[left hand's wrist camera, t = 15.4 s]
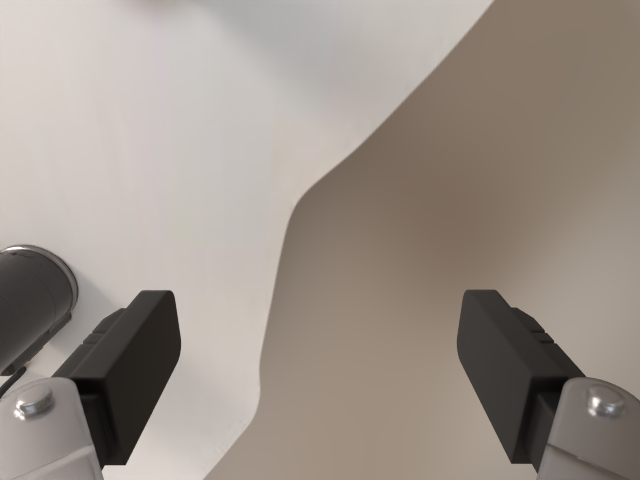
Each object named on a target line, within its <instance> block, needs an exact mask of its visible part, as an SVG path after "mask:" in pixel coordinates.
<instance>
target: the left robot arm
mask: <svg viewBox="0 0 640 480" xmlns="http://www.w3.org/2000/svg"><path fill="white" fill-rule="evenodd" d="M77 295H78V291H77V284H76V281H75V279H74V276H73V275H72V273H71V271H70V270H69V268H68V267H67V266H66V265H65V264H64V263H63V262H62V261H61V260H60V259H59V258H57V257H56V256H55V255H53V254H51V253H50V252H48V251H46V250H43V249H41V248H38V247H34V246H28V245H17V246H11V247H8V248H6V249H4V250H2V251H0V376H10V375H13V374H14V375H13V376H12V377H11V378H9V379H8V380H7V381H6V382H5V383H4V384H3V385H2V386H1V387H0V398H1V397H2V395H3V394H4V393H5V392H6V391H7V390H8V389H9V388H10V387H11V386H12V385H13V384H14V383H15V382H16V381H17V380H18V379H19V378H20V377H21V376H22V375H23V374H24V373H25V371H26V367H25V366H23V365H24V364H25V363H26V362H27V361H30V360H31V359H32V358H33V357H34V356H35V355H36V354H37V353H38V352H39V351H40V350H41V349H42V348H43V346H44V345H45V344H46V343H47V342H48V341H49V340H50V339H51V338H52V337H53V336H54V335H55V334H56V333H57V332H59V331H60V330H61V329H62V328H63V327H64V326H65V325H66V324H67V323H68V322H69V321H70V320H71V316H70V311H71V310H72V309H73V307H74V306H75V304H76V301H77ZM92 332H93V333H92V334H90V335H89V336H88V337H87V338H86V339H85V340H84V341H83V344H81V345H80V346H79V347H78V348H77V349H76V350H75V351H74V352H73V353H72V354H71V356H70V357H69V358H68V359H67V360H66V361H65V362H64V363H63V364H62V366H61V367H60V368H59V369H58V370H57V371H56V372H55V373H54V374H53V375H52V377H51V378H45V379H40V380H37V381H34V382H31V383H28V384H26V385H24V386H22V387H19V388H18V389H16V390H14V391H12V392H11V393H9V394H8V395H7V396H5V397H4V398H3V399H2V400H1V401H0V480H104V479H103V475H102V472H101V471H102V469H103V467H104V466H105V465H126V463H127V461H128V459H129V457H130V455H131V453H132V451H133V449H134V447H135V445H136V443H137V441H138V439H139V437H140V435H141V434H142V432H143V430H144V428H145V426H146V424H147V422H148V420H149V418H150V416H151V414H152V412H153V410H154V408H155V406H156V404H157V402H158V400H159V398H160V396H161V394H162V392H163V390H164V388H165V386H166V384H167V382H168V380H169V378H170V376H171V374H172V372H173V370H174V368H175V366H176V364H177V362H178V360H179V356H180V351H181V336H180V330H179V323H178V316H177V310H176V303H175V297H174V294H173V292H172V291H170V290H143V291H141V292H140V293H139V294H138V295H137V296H136V298H135V299H134V300H133V301H132V302H131V303H130V305H129V306H128V307H127V308H121V309H119V310H118V311H116V312H114V313H113V314H111V315H109V316H108V317H106V318H104V319H103V320H102V321H101V323H100V324H99V325H98V326H97V327H96V328H95V329H94V330H93V331H92ZM457 351H458V356H459V359H460V362H461V364H462V366H463V368H464V370H465V372H466V374H467V376H468V378H469V380H470V382H471V384H472V386H473V388H474V390H475V392H476V394H477V396H478V398H479V400H480V402H481V404H482V406H483V408H484V410H485V412H486V414H487V416H488V418H489V420H490V422H491V424H492V426H493V428H494V430H495V432H496V434H497V436H498V438H499V440H500V442H501V444H502V446H503V448H504V450H505V452H506V454H507V456H508V458H509V460H510V462H511V463H512V464H532V465H533V467H534V468H535V470H536V472H537V474H538V475H537V479H536V480H640V401H639V400H638V399H637V398H636V397H635V396H633V395H632V394H630V393H629V392H628V391H626V390H624V389H622V388H620V387H618V386H616V385H614V384H612V383H609V382H606V381H603V380H600V379H595V378H588V377H586V376H585V375H584V374H583V373H582V371H581V370H580V369H579V368H578V367H577V366H576V365H575V364H574V363H573V361H572V360H571V359H570V358H569V357H568V356H567V355H566V354H565V353H564V351H563V350H562V349H561V348H560V347H559V346H558V345H557V344H554V340H553V339H552V338H551V337H550V336H549V335H548V334H547V333H545V330H544V329H543V328H542V327H541V326H540V325H539V324H538V323H537V321H536V320H535V319H534V318H533V317H531V316H529V315H528V314H526V313H524V312H523V311H521V310H519V309H518V308H511V307H510V306H509V305H508V303H507V302H506V301H505V300H504V299H503V298H502V296H501V295H500V294H499V293H498V292H497V291H496V290H466V291H465V293H464V296H463V301H462V308H461V315H460V321H459V328H458V335H457Z"/></svg>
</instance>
